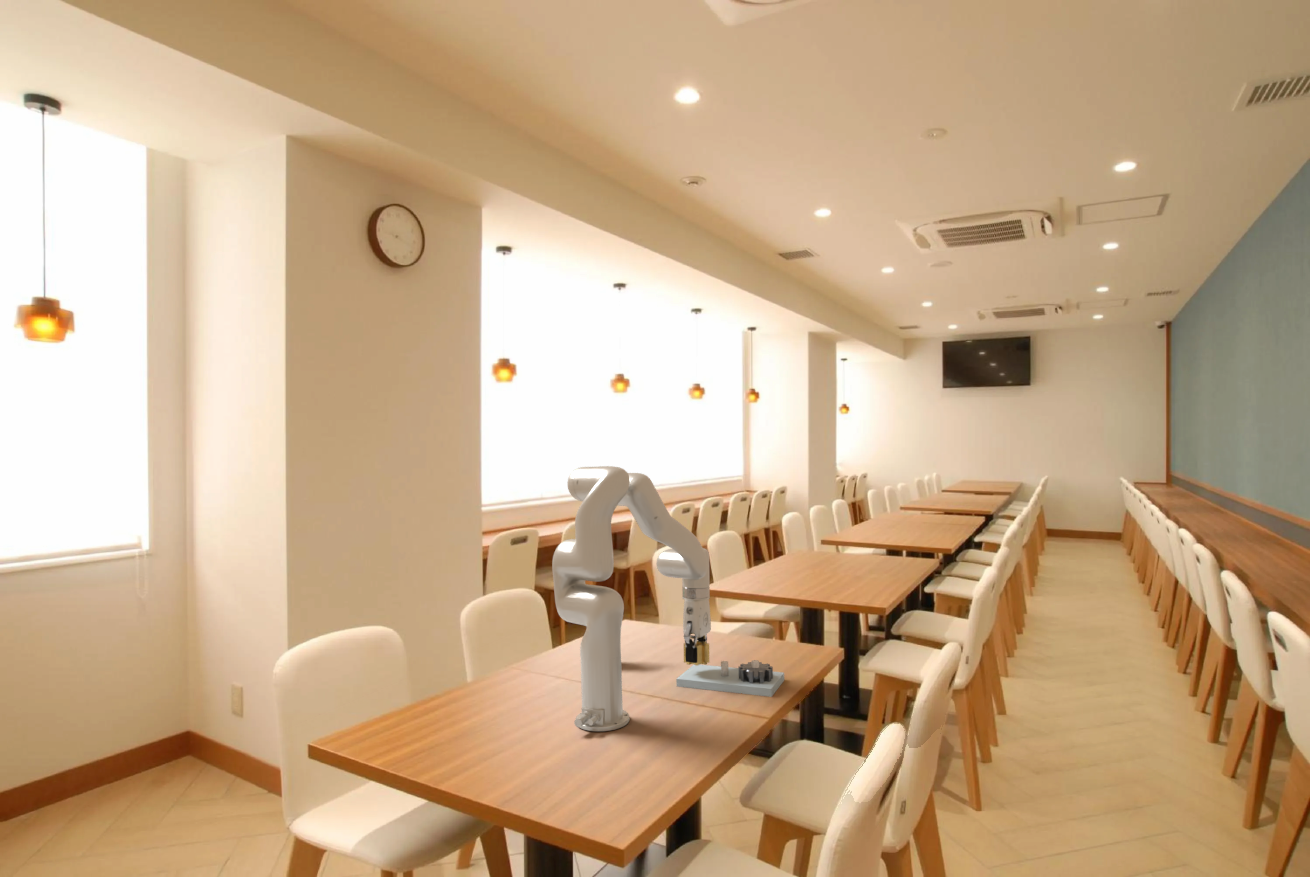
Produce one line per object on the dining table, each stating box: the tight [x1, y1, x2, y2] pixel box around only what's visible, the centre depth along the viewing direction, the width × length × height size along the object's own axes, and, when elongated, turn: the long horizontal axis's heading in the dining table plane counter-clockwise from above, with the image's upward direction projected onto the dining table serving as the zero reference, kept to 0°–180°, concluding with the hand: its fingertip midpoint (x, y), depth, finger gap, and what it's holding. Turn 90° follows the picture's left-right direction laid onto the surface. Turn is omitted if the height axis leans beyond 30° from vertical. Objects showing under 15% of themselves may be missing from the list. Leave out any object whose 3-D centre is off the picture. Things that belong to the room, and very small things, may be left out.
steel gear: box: [737, 661, 774, 684], centre depth 188 cm, size 9×9×3 cm
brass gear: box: [683, 640, 710, 666], centre depth 194 cm, size 7×7×5 cm
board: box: [675, 659, 785, 698], centre depth 191 cm, size 14×26×6 cm, turn 66°
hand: (696, 658), depth 194 cm, fingers closed on brass gear, 6 cm apart
